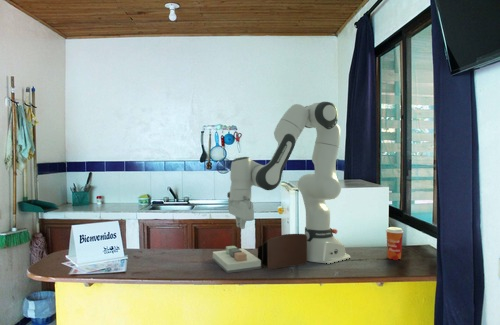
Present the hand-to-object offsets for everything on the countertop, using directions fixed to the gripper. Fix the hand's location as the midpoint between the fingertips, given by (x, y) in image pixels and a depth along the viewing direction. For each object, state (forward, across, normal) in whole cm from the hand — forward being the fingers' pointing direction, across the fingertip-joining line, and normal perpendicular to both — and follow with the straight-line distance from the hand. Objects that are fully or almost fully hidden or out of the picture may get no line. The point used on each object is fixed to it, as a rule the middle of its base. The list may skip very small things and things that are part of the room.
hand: (240, 227), depth 151 cm
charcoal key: (+14, +6, 0) cm, 15 cm away
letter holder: (+18, -2, -19) cm, 26 cm away
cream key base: (+17, +6, 0) cm, 18 cm away
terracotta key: (+14, 0, 0) cm, 14 cm away
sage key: (+14, +11, 0) cm, 18 cm away
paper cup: (+17, -16, -71) cm, 75 cm away
